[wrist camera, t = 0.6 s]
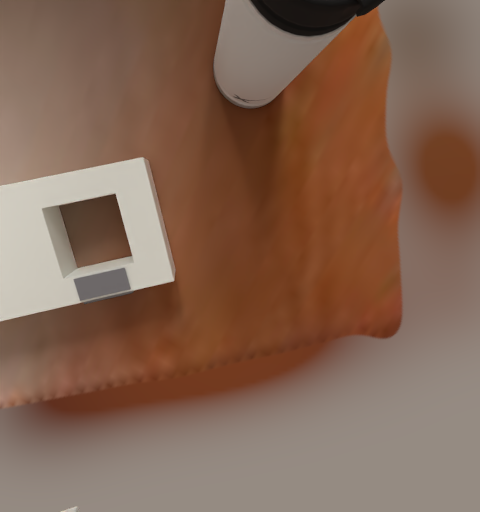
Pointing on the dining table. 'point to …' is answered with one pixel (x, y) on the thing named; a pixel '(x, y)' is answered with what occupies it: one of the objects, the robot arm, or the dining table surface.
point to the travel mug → (275, 43)
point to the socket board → (58, 245)
